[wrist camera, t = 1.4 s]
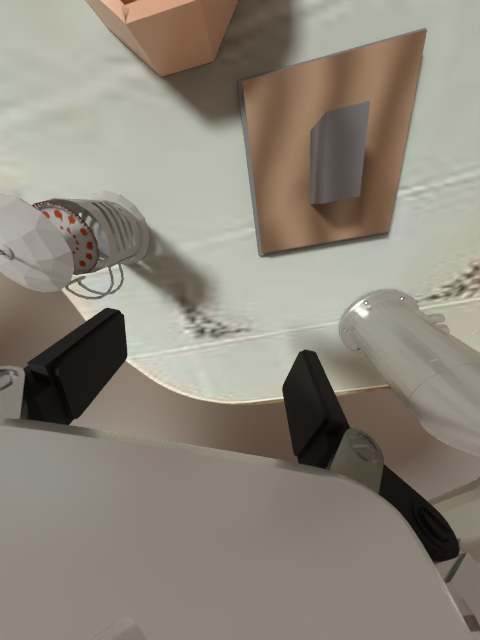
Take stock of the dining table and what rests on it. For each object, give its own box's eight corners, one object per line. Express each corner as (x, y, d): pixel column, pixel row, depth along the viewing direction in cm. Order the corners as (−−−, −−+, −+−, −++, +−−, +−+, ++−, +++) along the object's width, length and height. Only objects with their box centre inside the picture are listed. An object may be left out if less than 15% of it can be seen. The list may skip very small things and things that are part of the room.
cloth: (418, 37, 19) (485, -28, 13) (384, 230, 27) (417, 236, 22) (242, 86, 20) (241, 46, 15) (261, 251, 29) (264, 261, 24)
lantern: (122, 178, 25) (-585, 18, 4) (168, 262, 31) (-16, 395, 9) (65, 208, 27) (-610, 216, 6) (118, 283, 33) (-131, 431, 11)
